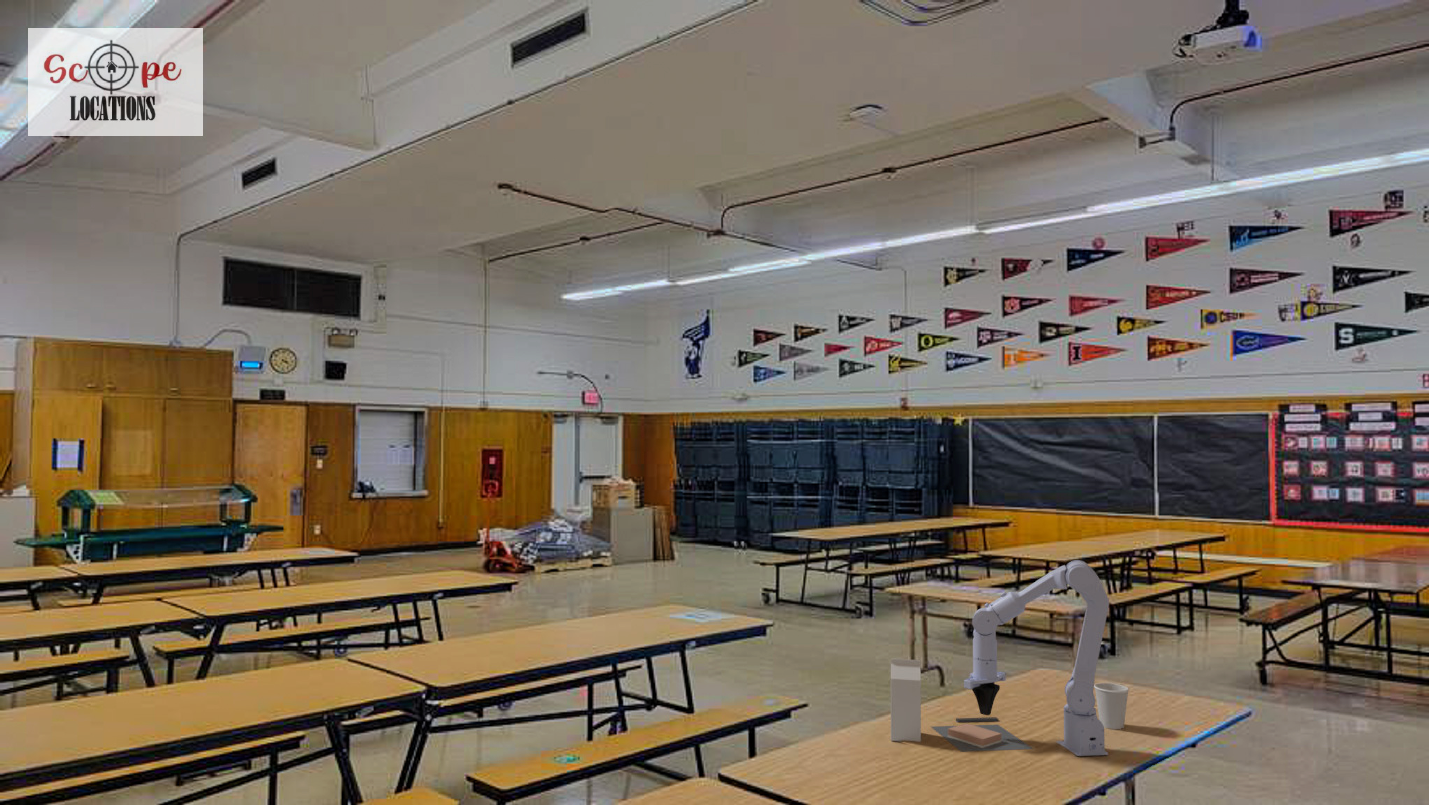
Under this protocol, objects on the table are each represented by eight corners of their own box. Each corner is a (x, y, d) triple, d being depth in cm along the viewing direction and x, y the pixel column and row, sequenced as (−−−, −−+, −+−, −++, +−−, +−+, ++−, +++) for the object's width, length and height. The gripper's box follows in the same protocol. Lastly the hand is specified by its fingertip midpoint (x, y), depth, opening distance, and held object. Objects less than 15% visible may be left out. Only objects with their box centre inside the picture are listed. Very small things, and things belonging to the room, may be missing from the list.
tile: (966, 723, 225) (947, 728, 220) (1001, 733, 217) (982, 739, 213) (966, 731, 225) (947, 737, 220) (1001, 742, 217) (982, 748, 212)
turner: (991, 718, 238) (991, 714, 238) (1003, 726, 231) (1003, 722, 231) (922, 720, 236) (922, 716, 236) (932, 728, 229) (932, 724, 229)
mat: (1033, 751, 212) (1033, 749, 212) (961, 753, 210) (961, 751, 210) (997, 726, 231) (997, 724, 231) (930, 728, 229) (930, 726, 229)
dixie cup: (1122, 722, 236) (1122, 683, 237) (1134, 731, 228) (1134, 691, 229) (1089, 720, 237) (1089, 682, 238) (1100, 730, 229) (1099, 690, 229)
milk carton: (920, 743, 217) (920, 663, 218) (890, 741, 218) (890, 662, 219) (920, 734, 224) (920, 657, 225) (890, 732, 225) (891, 655, 226)
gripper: (988, 651, 230) (988, 705, 229) (953, 659, 221) (953, 715, 220) (1012, 656, 224) (1013, 712, 224) (977, 664, 215) (978, 722, 215)
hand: (985, 714), depth 222 cm, fingers closed
